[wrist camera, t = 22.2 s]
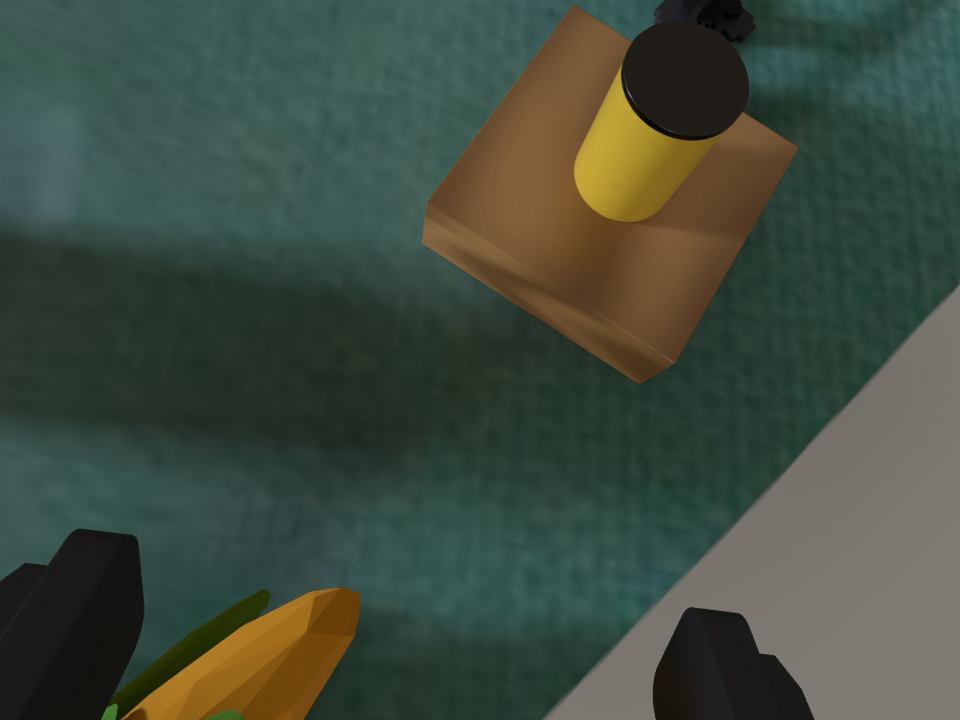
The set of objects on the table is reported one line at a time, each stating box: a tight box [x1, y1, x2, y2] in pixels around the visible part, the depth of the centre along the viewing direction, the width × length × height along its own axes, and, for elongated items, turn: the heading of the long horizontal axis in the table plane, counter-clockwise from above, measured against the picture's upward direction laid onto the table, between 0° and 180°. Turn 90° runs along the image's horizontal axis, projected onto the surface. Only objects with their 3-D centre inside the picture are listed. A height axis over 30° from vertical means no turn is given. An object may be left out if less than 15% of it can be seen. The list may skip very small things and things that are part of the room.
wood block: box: [422, 5, 799, 384], centre depth 38 cm, size 14×14×5 cm
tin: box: [574, 21, 749, 222], centre depth 32 cm, size 5×5×8 cm
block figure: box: [654, 0, 756, 42], centre depth 43 cm, size 6×2×6 cm
